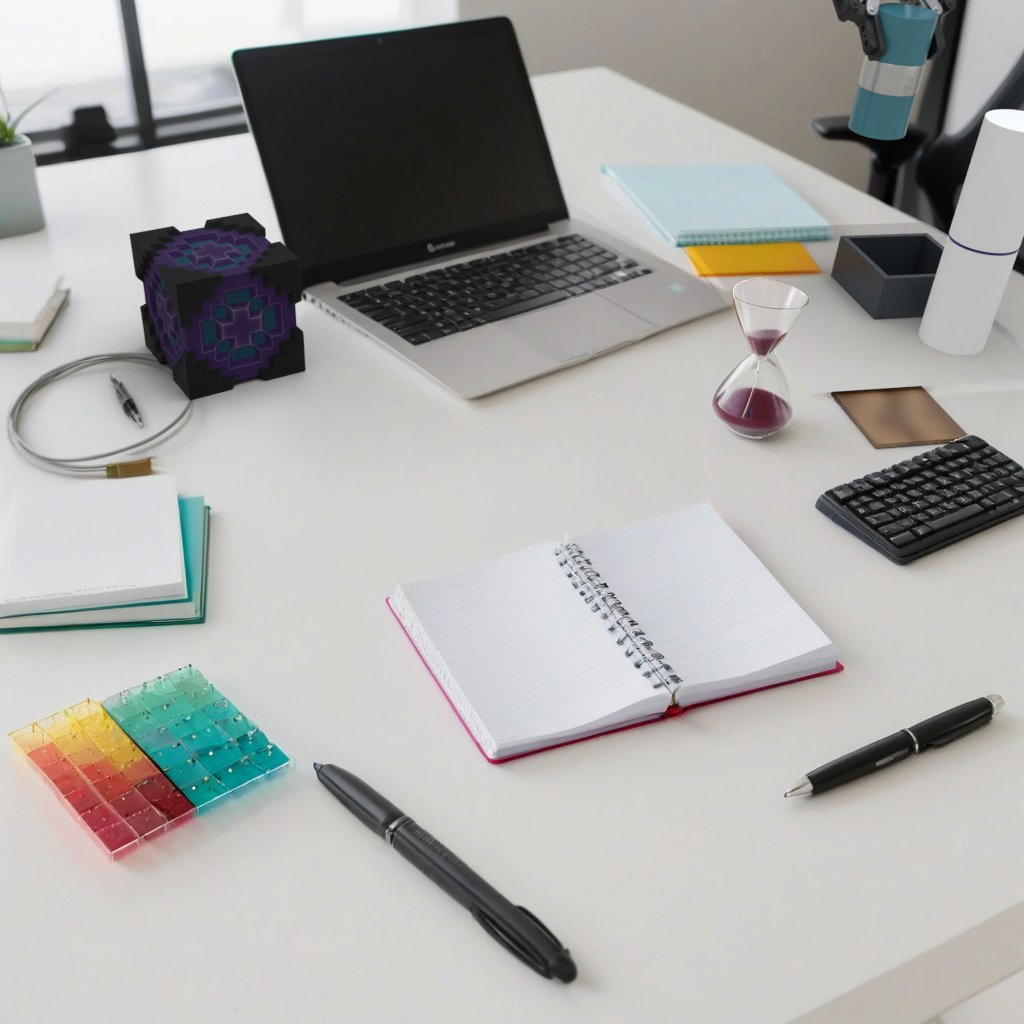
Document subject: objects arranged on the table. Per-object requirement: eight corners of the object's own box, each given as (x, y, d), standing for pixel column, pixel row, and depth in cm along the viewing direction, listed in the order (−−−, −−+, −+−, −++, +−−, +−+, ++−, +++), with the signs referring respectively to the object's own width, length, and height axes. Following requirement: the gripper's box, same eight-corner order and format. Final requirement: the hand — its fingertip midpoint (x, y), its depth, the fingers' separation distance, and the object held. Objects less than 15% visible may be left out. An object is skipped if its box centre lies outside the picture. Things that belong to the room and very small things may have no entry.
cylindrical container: (916, 356, 125) (988, 127, 110) (914, 327, 131) (982, 105, 116) (984, 367, 124) (1066, 138, 109) (979, 337, 130) (1056, 115, 115)
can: (889, 120, 125) (920, 3, 118) (916, 140, 121) (950, 19, 113) (837, 120, 124) (866, 2, 117) (863, 140, 119) (894, 18, 112)
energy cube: (189, 400, 109) (175, 284, 102) (145, 345, 117) (129, 233, 110) (305, 370, 115) (299, 258, 108) (256, 319, 123) (247, 212, 116)
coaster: (918, 388, 120) (920, 384, 120) (969, 441, 112) (970, 437, 112) (830, 394, 118) (831, 390, 118) (875, 448, 110) (877, 444, 110)
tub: (913, 278, 142) (927, 232, 138) (961, 322, 133) (977, 274, 129) (828, 282, 139) (840, 235, 136) (871, 327, 130) (885, 278, 127)
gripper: (832, -125, 112) (865, 37, 111) (957, -121, 116) (990, 36, 115) (794, -76, 119) (824, 77, 118) (913, -74, 123) (944, 74, 122)
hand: (906, 56), depth 116 cm, fingers closed on can, 6 cm apart
